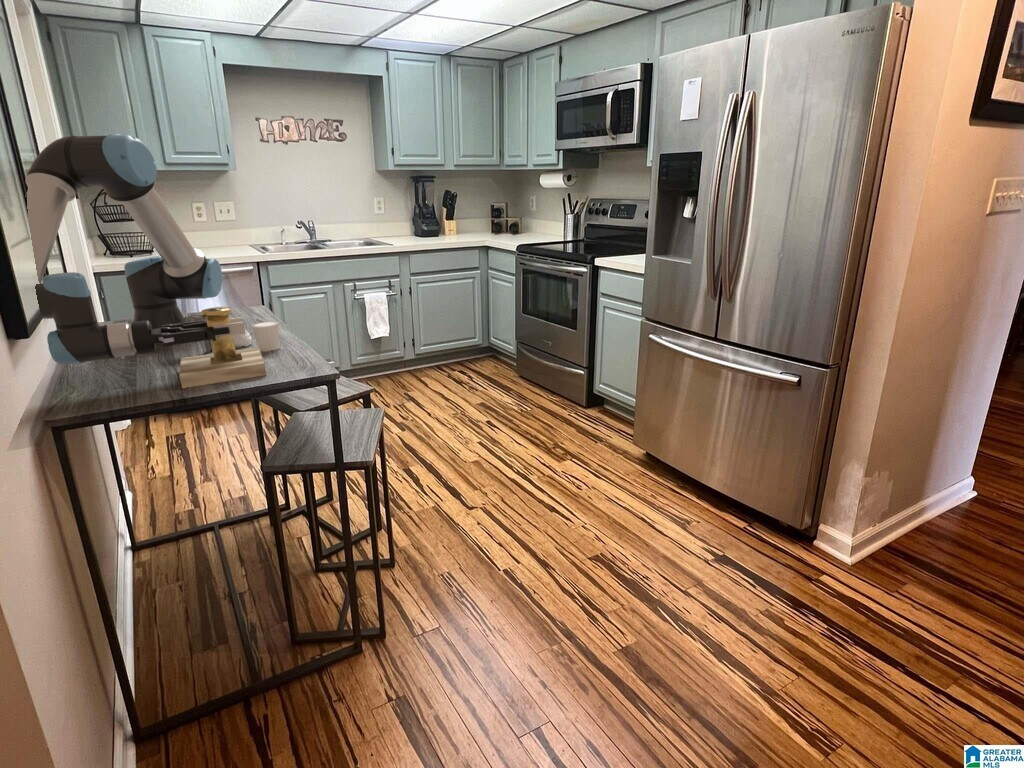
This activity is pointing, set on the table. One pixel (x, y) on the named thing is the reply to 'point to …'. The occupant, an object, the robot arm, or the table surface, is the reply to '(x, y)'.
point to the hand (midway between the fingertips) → (243, 325)
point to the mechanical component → (198, 318)
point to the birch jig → (221, 368)
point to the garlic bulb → (242, 339)
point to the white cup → (267, 335)
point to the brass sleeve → (223, 344)
